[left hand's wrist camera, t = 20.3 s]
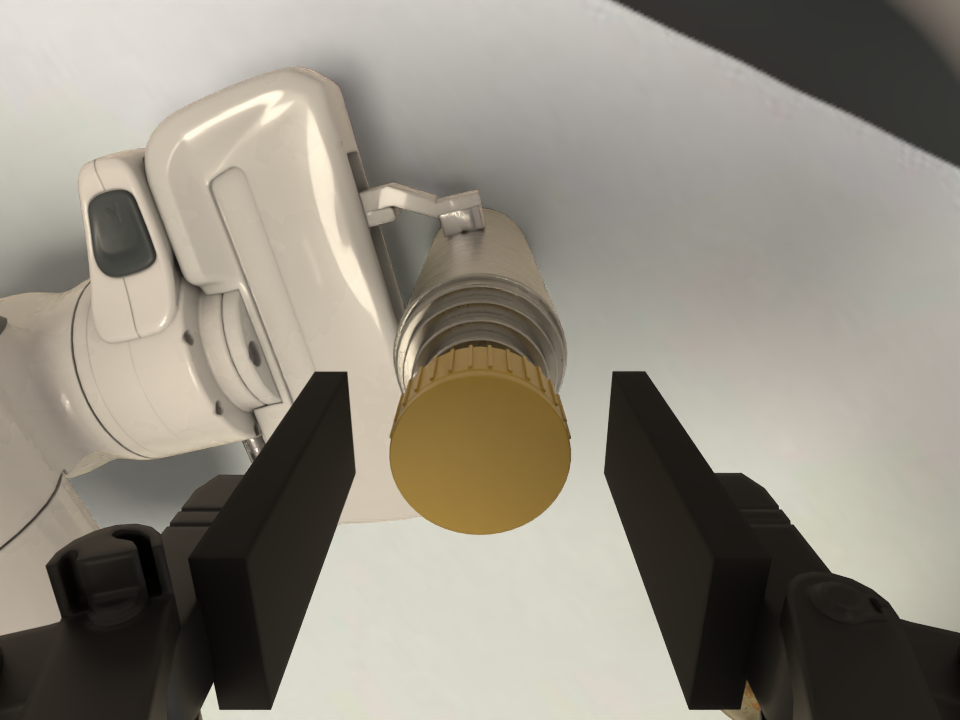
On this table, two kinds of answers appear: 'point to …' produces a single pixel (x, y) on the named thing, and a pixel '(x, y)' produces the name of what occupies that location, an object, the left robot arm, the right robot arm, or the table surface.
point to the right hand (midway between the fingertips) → (499, 282)
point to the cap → (480, 441)
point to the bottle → (480, 302)
